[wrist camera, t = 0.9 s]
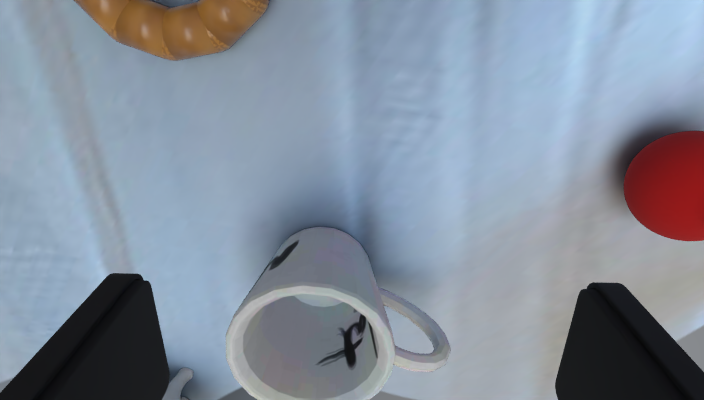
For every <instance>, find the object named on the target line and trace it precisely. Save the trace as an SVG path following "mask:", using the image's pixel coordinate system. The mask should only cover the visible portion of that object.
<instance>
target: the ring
mask: <svg viewBox="0 0 704 400" xmlns="http://www.w3.org/2000/svg"><path fill="white" fill-rule="evenodd" d="M74 1H75V2H76V3H77V4H78V5H79V6H80V7H81V8H82V9H83V10H84V11H85V12H86V13H87V14H88V15H89V16H90V17H91V18H92V19H93V20H94V21H95V22H96V23H97V24H98V25H99V26H100V27H101V28H102V29H103V30H104V31H105V32H106V33H107V34H108V35H109V36H110V37H112V38H113V39H114V40H116V41H117V42H119V43H122V44H124V45H127V46H130V47H133V48H135V49H138V50H141V51H144V52H147V53H150V54H153V55H156V56H159V57H161V58H164V59H168V60H173V61H178V60H184V59H188V58H193V57H198V56H203V55H208V54H213V53H218V52H222V51H225V50H227V49H229V48H230V47H231V46H232V45H233V44H234V43H235V42H236V41H237V40H238V39H239V38H240V37H241V36H242V35H243V34H244V33H245V32H246V31H247V30H248V29H249V28H250V27H251V26H252V25H253V24H254V23H255V22H256V21H257V20H258V19H259V18H260V17H261V16H262V15H263V14H264V13H265V11H266V9H267V7H268V4H269V0H200V1H199V2H195V3H190V4H186V5H181V6H177V7H172V8H169V7H167V6H164V5H161V4H158V3H156V2H153V1H150V0H74Z"/></svg>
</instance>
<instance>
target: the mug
mask: <svg viewBox="0 0 704 400" xmlns="http://www.w3.org/2000/svg"><path fill="white" fill-rule="evenodd" d="M384 305H385V306H387V307H389V308H391V309H393V310H395V311H397V312H398V313H400V314H402V315H403V316H405V317H406V318H408V319H409V320H410V321H412V322H413V323H415V324H416V325H417V326H418V327H419V328H420V329H421V330H422V331H424V332H425V334H426V335H427V336H428V338H429V339H430V341H431V342H432V344H433V347H434V350H433V352H432V353H430V354H419V353H413V352H410V351H407V350H404V349H401V348H399V347H397V346H395V344H394V339H393V335H392V330H391V327H390V324H389V321H388V318H387V314H386V311H385V308H384ZM450 351H451V349H450V344H449V342H448V340H447V337H446V335H445V333H444V332H443V331H442V329H441V328H440V327H439V326H438V324H437V323H436V322H435V321H434V320H433V319H431V318H430V317H429V316H428V315H427V314H426V313H425V312H423V311H422V310H420V309H419V308H418V307H416V306H415V305H413V304H411V303H410V302H408V301H406V300H405V299H403V298H401V297H399V296H397V295H395V294H393V293H391V292H389V291H387V290H384V289H382V288H379V287H378V286H377V283H376V280H375V277H374V274H373V271H372V268H371V265H370V262H369V258H368V255H367V254H366V252H365V251H364V249H363V247H362V246H361V244H360V243H359V242H357V241H356V240H355V239H354V238H352V237H351V236H350V235H349V234H347V233H345V232H342V231H340V230H337V229H335V228H327V227H314V228H308V229H304V230H302V231H300V232H298V233H296V234H294V235H292V236H290V237H289V238H288V239H287V240H286V241H285V242H284V243H283V244H282V245H281V246H280V248H279V249H278V251H277V252H276V254H275V255H274V257H273V258H272V260H271V261H270V262H269V264H268V265H267V267H266V268H265V270H264V271H263V273H262V274H261V276H260V277H259V279H258V280H257V282H256V283H255V285H254V286H253V288H252V289H251V290H250V292H249V293H248V295H247V296H246V298H245V299H244V301H243V302H242V304H241V305H240V307H239V308H238V310H237V311H236V313H235V314H234V316H233V319H232V321H231V323H230V326H229V328H228V330H227V333H226V359H227V362H228V364H229V366H230V369H231V371H232V373H233V376H234V378H235V379H236V380H237V381H238V382H239V383H240V384H241V386H242V387H243V388H244V389H245V390H246V391H247V392H248V393H249V394H250V395H252V396H253V397H255V398H256V399H258V400H369V399H371V398H372V397H373V396H374V395H376V394H377V393H378V392H380V390H381V389H382V387H383V386H384V384H385V383H386V381H387V380H388V378H389V377H390V375H391V373H392V369H393V365H396V366H398V367H401V368H404V369H407V370H411V371H417V372H432V371H434V370H436V369H439V368H441V367H442V366H444V365H445V364H446V362H447V359H448V357H449V354H450Z"/></svg>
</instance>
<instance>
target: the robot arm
mask: <svg viewBox="0 0 704 400" xmlns="http://www.w3.org/2000/svg"><path fill="white" fill-rule="evenodd" d="M169 379H170V373H169V368H168V363H167V358H166V354H165V349H164V344H163V339H162V335H161V330H160V325H159V321H158V316H157V311H156V307H155V302H154V297H153V292H152V288H151V284H150V283H149V281H144V280H143V278H142V276H141V275H139V274H122V273H113V274H110V275H108V276H107V277H106V278H105V279H104V280H103V282H102V283H101V284H100V285H99V286H98V287H97V288H96V289H95V290H94V291H93V292H92V294H91V295H90V296H89V297H88V298H87V299H86V300H85V301H84V302H83V303H82V304H81V306H80V307H79V308H78V309H77V310H76V311H75V312H74V313H73V314H72V315H71V316H70V317H69V319H68V320H67V321H66V322H65V323H64V324H63V325H62V326H61V327H60V328H59V329H58V331H57V332H56V333H55V334H54V335H53V336H52V337H51V338H50V339H49V340H48V341H47V343H46V344H45V345H44V346H43V347H42V348H41V349H40V350H39V351H38V352H37V353H36V355H35V356H34V357H33V358H32V359H31V360H30V361H29V362H28V363H27V364H26V365H25V367H24V368H23V369H22V370H21V371H20V372H19V373H18V374H17V375H16V376H15V377H14V378H13V380H12V381H11V382H10V383H9V384H8V385H7V386H6V387H5V388H4V389H3V390H2V392H1V393H0V400H162V399H163V397H164V395H165V393H166V390H167V388H168V385H169ZM555 388H556V394H557V397H558V400H704V372H703V371H702V370H701V369H700V368H699V367H698V365H697V364H696V363H695V362H694V361H693V360H692V359H691V358H690V357H689V356H688V355H687V354H686V352H685V351H684V350H683V349H682V348H681V347H680V346H679V345H678V344H677V343H676V341H675V340H674V339H673V338H672V337H671V336H670V335H669V334H668V333H667V332H666V331H665V329H664V328H663V327H662V326H661V325H660V324H659V323H658V322H657V321H656V320H655V319H654V317H653V316H652V315H651V314H650V313H649V312H648V311H647V310H646V309H645V308H644V307H643V306H642V304H641V303H640V302H639V301H638V300H637V299H636V298H635V297H634V296H633V295H632V294H631V292H630V291H629V290H628V289H627V288H626V287H625V286H624V285H622V284H620V283H590V284H589V285H588V287H587V289H583V290H581V291H580V293H579V295H578V299H577V303H576V307H575V310H574V314H573V318H572V322H571V325H570V329H569V333H568V337H567V340H566V344H565V348H564V352H563V355H562V359H561V363H560V367H559V370H558V374H557V378H556V383H555Z"/></svg>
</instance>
